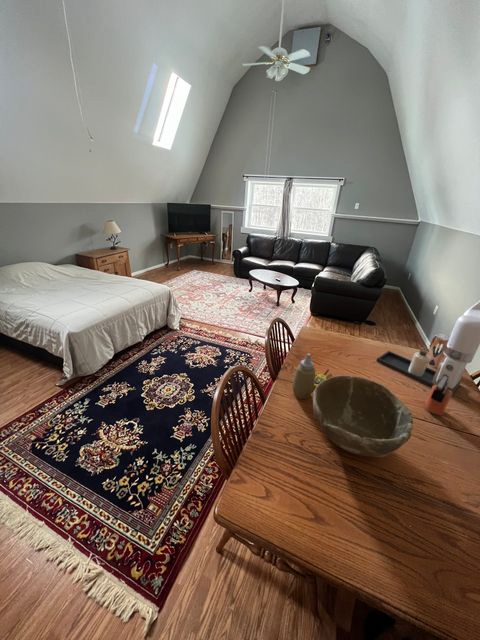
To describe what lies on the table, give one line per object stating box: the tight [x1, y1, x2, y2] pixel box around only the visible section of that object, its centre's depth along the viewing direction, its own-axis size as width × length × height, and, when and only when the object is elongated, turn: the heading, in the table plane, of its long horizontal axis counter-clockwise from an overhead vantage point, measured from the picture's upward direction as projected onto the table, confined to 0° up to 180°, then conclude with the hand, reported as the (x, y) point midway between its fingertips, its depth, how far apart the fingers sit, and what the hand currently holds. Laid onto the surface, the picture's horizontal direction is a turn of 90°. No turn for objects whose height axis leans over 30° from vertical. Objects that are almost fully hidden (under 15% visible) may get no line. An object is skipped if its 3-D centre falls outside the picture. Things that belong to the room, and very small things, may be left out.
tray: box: [376, 350, 462, 395], centre depth 117 cm, size 30×12×2 cm, turn 39°
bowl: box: [312, 374, 414, 458], centre depth 81 cm, size 28×27×15 cm
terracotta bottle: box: [424, 383, 453, 416], centre depth 95 cm, size 6×6×11 cm
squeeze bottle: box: [291, 353, 316, 400], centre depth 98 cm, size 8×8×18 cm
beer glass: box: [427, 332, 451, 369], centre depth 121 cm, size 7×7×15 cm
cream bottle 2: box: [432, 361, 444, 385], centre depth 109 cm, size 6×6×11 cm
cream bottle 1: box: [408, 348, 430, 376], centre depth 115 cm, size 6×6×11 cm
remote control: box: [314, 369, 330, 390], centre depth 111 cm, size 5×2×15 cm
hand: (439, 395), depth 94 cm, fingers closed on terracotta bottle, 5 cm apart
